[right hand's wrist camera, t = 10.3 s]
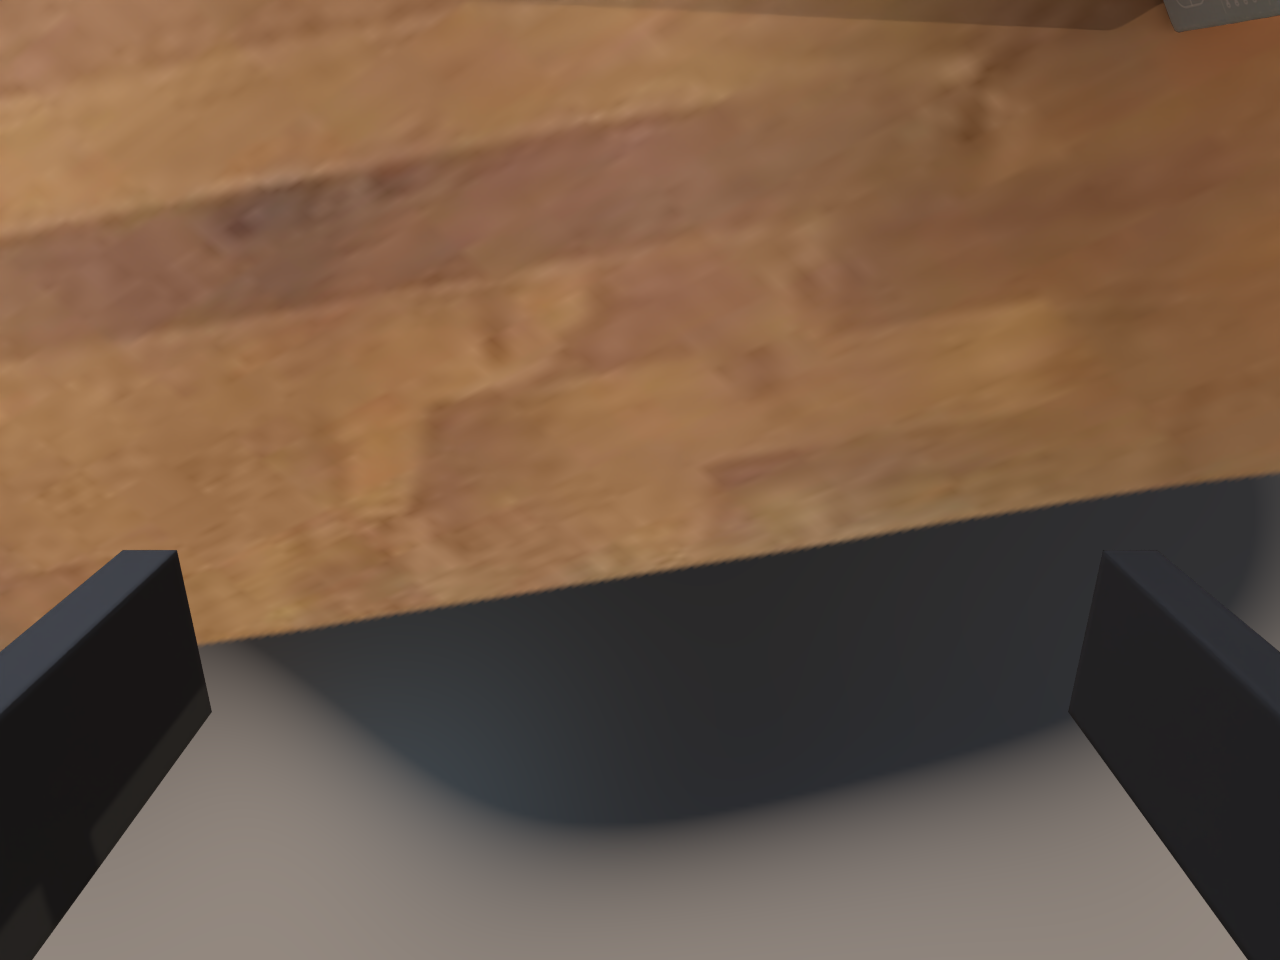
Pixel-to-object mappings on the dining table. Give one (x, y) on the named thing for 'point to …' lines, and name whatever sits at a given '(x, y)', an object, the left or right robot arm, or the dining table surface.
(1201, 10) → the hard drive box
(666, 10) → the dining table surface
